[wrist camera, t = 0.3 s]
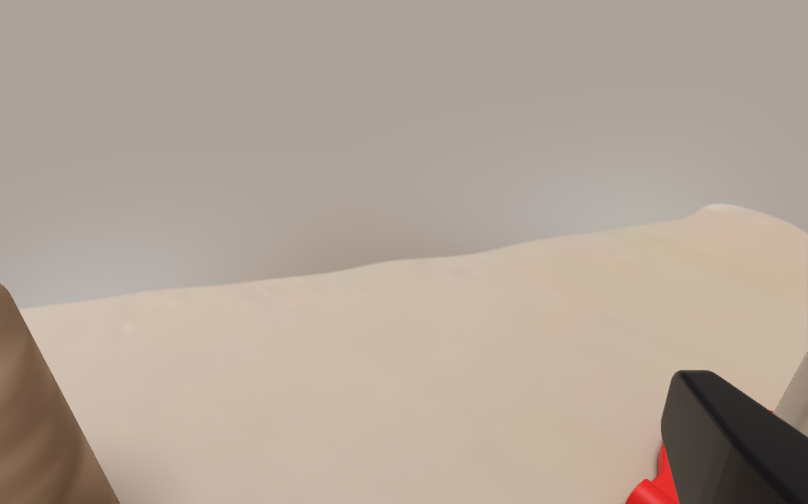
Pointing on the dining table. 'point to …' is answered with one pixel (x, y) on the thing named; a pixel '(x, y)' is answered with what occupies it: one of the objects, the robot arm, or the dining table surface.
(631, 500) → the tow hook
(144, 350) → the dining table surface
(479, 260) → the dining table surface
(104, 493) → the walnut peg
